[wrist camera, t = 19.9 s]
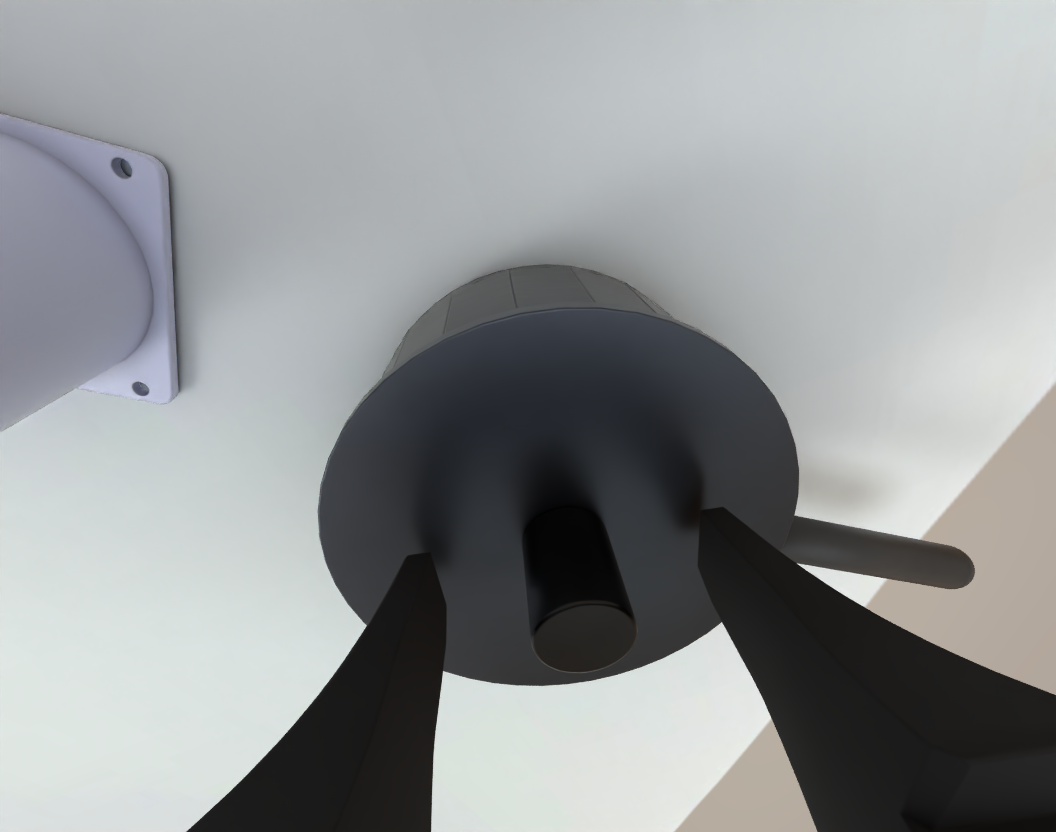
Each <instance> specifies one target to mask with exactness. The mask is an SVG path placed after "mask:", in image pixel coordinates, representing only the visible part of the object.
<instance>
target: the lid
mask: <svg viewBox="0 0 1056 832" xmlns="http://www.w3.org/2000/svg"><path fill="white" fill-rule="evenodd" d="M798 486H799V467H798V460H797V453H796V446H795V442H794V439H793V436H792V433H791V430H790V427H789V424H788V421H787V418H786V417H785V415H784V413H783V411H782V409H781V407H780V406H779V404H778V402H777V400H776V398H775V396H774V395H773V394H772V392H771V391H770V390H769V389H768V387H767V386H766V385H765V384H764V382H763V381H762V380H761V379H760V377H759V376H758V375H757V374H756V373H755V372H754V371H753V370H752V369H751V368H750V367H749V366H747V365H746V364H745V363H744V362H743V361H742V360H741V359H740V358H738V357H737V356H736V355H735V354H734V353H733V352H732V351H730V350H729V349H728V348H727V347H725V346H724V345H722V344H721V343H719V342H717V341H716V340H714V339H713V338H711V337H710V336H708V335H706V334H705V333H703V332H702V331H700V330H698V329H696V328H694V327H691V326H689V325H687V324H685V323H682V322H680V321H678V320H675V319H673V318H671V317H668V316H665V315H662V314H658V313H654V312H651V311H647V310H643V309H640V308H636V307H631V306H623V305H616V304H608V303H600V302H556V303H549V304H541V305H534V306H526V307H519V308H516V309H512V310H508V311H504V312H501V313H497V314H493V315H490V316H486V317H482V318H480V319H477V320H475V321H473V322H470V323H468V324H465V325H463V326H460V327H458V328H456V329H453V330H451V331H448V332H446V333H445V334H443V335H441V336H439V337H438V338H436V339H434V340H432V341H431V342H429V343H427V344H426V345H424V346H422V347H420V348H419V349H417V350H415V351H414V352H413V353H411V354H410V355H409V356H407V357H406V358H405V359H404V360H402V361H401V362H400V363H399V364H397V365H396V366H395V367H393V368H392V369H391V370H390V371H388V372H387V373H386V374H385V375H384V376H383V377H382V378H381V379H380V380H379V381H378V382H377V384H376V385H375V386H374V387H373V388H372V389H371V390H370V391H369V392H368V393H367V394H366V395H365V396H364V397H363V399H362V400H361V402H360V403H359V404H358V406H357V407H356V409H355V410H354V412H353V413H352V414H351V416H350V417H349V419H348V420H347V422H346V423H345V425H344V427H343V429H342V431H341V433H340V435H339V437H338V439H337V441H336V443H335V446H334V448H333V450H332V452H331V454H330V456H329V458H328V462H327V465H326V468H325V472H324V475H323V479H322V482H321V487H320V496H319V505H318V522H319V537H320V541H321V545H322V549H323V553H324V557H325V562H326V564H327V566H328V569H329V571H330V573H331V576H332V578H333V580H334V582H335V585H336V586H337V588H338V589H339V591H340V592H341V594H342V596H343V597H344V599H345V600H346V602H347V603H348V605H349V606H350V607H351V608H352V609H353V611H354V612H355V613H356V614H357V615H358V616H359V617H360V619H361V620H362V621H363V622H364V623H365V624H366V625H368V623H369V622H370V620H371V618H372V616H373V615H374V613H375V611H376V610H377V608H378V606H379V605H380V603H381V601H382V600H383V598H384V596H385V594H386V593H387V591H388V589H389V587H390V585H391V583H392V582H393V580H394V578H395V576H396V574H397V572H398V570H399V568H400V567H401V565H402V563H403V561H404V559H405V558H406V557H407V555H413V554H419V553H426V552H431V556H432V559H433V562H434V565H435V569H436V572H437V575H438V578H439V582H440V585H441V588H442V591H443V595H444V598H445V601H446V604H447V633H446V650H445V659H444V667H443V671H445V672H449V673H452V674H455V675H459V676H462V677H466V678H470V679H475V680H480V681H486V682H491V683H499V684H509V685H526V686H547V685H562V684H572V683H579V682H585V681H592V680H596V679H601V678H605V677H610V676H614V675H618V674H621V673H624V672H627V671H631V670H634V669H637V668H640V667H643V666H645V665H647V664H650V663H652V662H655V661H657V660H660V659H662V658H664V657H666V656H668V655H670V654H672V653H674V652H676V651H678V650H680V649H682V648H684V647H686V646H688V645H689V644H691V643H692V642H694V641H696V640H697V639H699V638H700V637H702V636H704V635H705V634H707V633H708V632H709V631H711V630H712V629H713V628H715V627H716V626H717V625H719V624H720V623H721V622H722V621H721V619H720V617H719V615H718V613H717V611H716V610H715V608H714V606H713V604H712V602H711V599H710V597H709V594H708V592H707V590H706V587H705V585H704V582H703V579H702V577H701V574H700V572H699V569H698V566H697V565H698V546H699V528H700V510H705V509H711V508H718V507H724V508H726V509H727V510H728V511H729V512H731V513H732V514H733V515H734V516H736V517H737V518H738V519H740V520H741V521H742V522H743V523H744V524H746V525H747V526H748V527H749V528H751V529H752V530H753V531H755V532H756V533H757V534H758V535H760V536H761V537H762V538H763V539H765V540H766V541H767V542H769V543H770V544H771V545H772V546H774V547H775V548H776V549H778V550H779V551H781V549H782V548H783V546H784V544H785V542H786V539H787V536H788V533H789V530H790V528H791V525H792V522H793V519H794V514H795V509H796V504H797V499H798Z"/></svg>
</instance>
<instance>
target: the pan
mask: <svg viewBox="0 0 1056 832" xmlns="http://www.w3.org/2000/svg"><path fill="white" fill-rule="evenodd" d="M556 302H600V303H608V304H616V305H623V306H631V307H636V308H640V309H643V310H647V311H651V312H654V313H658V314H662V315H665V316H668V317H671V318H673V317H672V316H670V315H669V314H668V313H667V312H666V311H664V310H663V309H662V308H660V307H659V306H657V305H656V304H655V303H653V302H652V301H651V300H649V299H648V298H646V297H645V296H644V295H642V294H641V293H640V292H638V291H637V290H636V289H634V288H632V287H631V286H629V285H628V284H627V283H623V282H622V281H619V280H617V279H615V278H612V277H609V276H607V275H604V274H601V273H598V272H595V271H592V270H587V269H582V268H577V267H572V266H560V265H535V266H522V267H517V268H512V269H507V270H502V271H498V272H495V273H492V274H490V275H487V276H484V277H481V278H478V279H476V280H474V281H472V282H470V283H468V284H466V285H464V286H462V287H460V288H458V289H456V290H454V291H453V292H451V293H450V294H448V295H447V296H446V297H444V298H443V299H441V300H440V301H438V302H437V303H435V304H434V305H433V306H432V307H431V308H430V309H429V310H428V311H427V312H426V313H425V314H424V315H423V316H421V317H420V318H419V319H418V321H417V322H416V323H415V324H414V325H413V326H412V327H411V328H410V329H409V330H408V332H407V333H406V335H405V337H404V338H403V340H402V342H401V344H400V345H399V347H398V349H397V350H396V352H395V354H394V356H393V358H392V359H391V361H390V363H389V365H388V366H387V368H386V370H385V372H384V374H383V376H384V375H385V374H386V373H387V372H388V371H390V370H391V369H392V368H393V367H395V366H396V365H397V364H399V363H400V362H401V361H402V360H404V359H405V358H406V357H407V356H409V355H410V354H411V353H413V352H414V351H415V350H417V349H419V348H420V347H422V346H424V345H426V344H427V343H429V342H431V341H432V340H434V339H436V338H438V337H439V336H441V335H443V334H445V333H446V332H448V331H451V330H453V329H456V328H458V327H460V326H463V325H465V324H468V323H470V322H473V321H475V320H477V319H480V318H482V317H486V316H490V315H493V314H497V313H501V312H504V311H508V310H512V309H516V308H519V307H526V306H534V305H541V304H549V303H556ZM673 319H674V318H673ZM383 376H382V377H383Z"/></svg>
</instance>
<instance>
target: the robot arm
mask: <svg viewBox="0 0 1056 832" xmlns="http://www.w3.org/2000/svg"><path fill="white" fill-rule="evenodd" d="M122 159H124V160H126V161H127V162H128V163H129V164H130V166H131V169H132V175H131V177H129V176H127V175H126V174H125V173H124V172H123V171H122V169H121V166H120V163H121V160H122ZM139 382H141V383H144V384H145V385H146V386H147V387H148V388H149V391H147V390H145V389H143V388H142V387H141V386H140V384H139ZM75 388H77V389H82V390H87V391H92V392H98V393H103V394H108V395H114V396H119V397H124V398H130V399H135V400H140V401H145V402H151V403H156V404H166V403H169V402H171V401H172V400H173V399H174V398H175V397H176V396H177V395H178V374H177V353H176V332H175V311H174V290H173V269H172V248H171V227H170V206H169V185H168V175H167V171H166V169H165V168H164V166H163V165H162V163H161V162H160V161H158V160H157V159H156V158H155V157H153V156H151V155H149V154H145V153H142V152H138V151H135V150H131V149H127V148H124V147H120V146H117V145H113V144H110V143H106V142H102V141H99V140H95V139H92V138H88V137H84V136H81V135H77V134H74V133H70V132H66V131H63V130H59V129H56V128H52V127H48V126H45V125H41V124H38V123H34V122H30V121H27V120H23V119H20V118H16V117H12V116H9V115H5V114H2V113H0V432H2V431H4V430H5V429H7V428H9V427H10V426H12V425H14V424H16V423H17V422H19V421H21V420H22V419H24V418H26V417H28V416H29V415H31V414H33V413H34V412H36V411H38V410H39V409H41V408H43V407H45V406H46V405H48V404H50V403H51V402H53V401H55V400H57V399H58V398H60V397H62V396H63V395H65V394H67V393H69V392H70V391H72V390H74V389H75ZM697 566H698V569H699V572H700V574H701V577H702V579H703V582H704V585H705V587H706V590H707V592H708V594H709V597H710V599H711V602H712V604H713V606H714V608H715V610H716V611H717V613H718V615H719V617H720V619H721V621H722V623H723V625H724V626H725V628H726V630H727V632H728V634H729V636H730V637H731V639H732V641H733V643H734V645H735V647H736V648H737V650H738V652H739V654H740V656H741V658H742V660H743V661H744V663H745V665H746V667H747V669H748V671H749V672H750V674H751V676H752V678H753V680H754V682H755V684H756V686H757V688H758V690H759V692H760V694H761V696H762V698H763V700H764V702H765V704H766V706H767V709H768V711H769V713H770V716H771V718H772V720H773V722H774V725H775V727H776V730H777V732H778V734H779V737H780V739H781V741H782V743H783V746H784V748H785V751H786V753H787V756H788V758H789V761H790V763H791V766H792V768H793V770H794V773H795V775H796V778H797V780H798V782H799V785H800V788H801V790H802V793H803V795H804V798H805V800H806V803H807V806H808V808H809V811H810V813H811V816H812V819H813V821H814V824H815V826H816V829H817V831H818V832H1056V695H1054V694H1051V693H1049V692H1046V691H1043V690H1041V689H1038V688H1036V687H1033V686H1031V685H1028V684H1026V683H1023V682H1020V681H1018V680H1015V679H1013V678H1010V677H1008V676H1005V675H1003V674H1000V673H997V672H995V671H992V670H990V669H988V668H986V667H983V666H981V665H979V664H977V663H974V662H972V661H970V660H968V659H965V658H963V657H960V656H958V655H956V654H954V653H952V652H950V651H947V650H945V649H943V648H941V647H939V646H937V645H935V644H933V643H930V642H928V641H926V640H924V639H922V638H921V637H918V636H917V635H914V634H913V633H911V632H909V631H907V630H905V629H903V628H901V627H899V626H897V625H895V624H893V623H891V622H889V621H888V620H885V619H884V618H882V617H880V616H878V615H877V614H875V613H873V612H871V611H870V610H868V609H866V608H865V607H863V606H861V605H860V604H858V603H856V602H854V601H853V600H851V599H849V598H848V597H846V596H844V595H843V594H841V593H840V592H838V591H836V590H835V589H833V588H832V587H830V586H829V585H827V584H826V583H824V582H823V581H821V580H820V579H818V578H817V577H815V576H814V575H812V574H811V573H809V572H808V571H806V570H805V569H804V568H802V567H801V566H799V565H798V564H797V563H795V562H794V561H792V560H791V559H790V558H788V557H787V556H786V555H784V554H783V553H782V552H780V551H779V550H778V549H776V548H775V547H774V546H772V545H771V544H770V543H769V542H767V541H766V540H765V539H763V538H762V537H761V536H760V535H758V534H757V533H756V532H755V531H753V530H752V529H751V528H749V527H748V526H747V525H746V524H744V523H743V522H742V521H741V520H740V519H738V518H737V517H736V516H734V515H733V514H732V513H731V512H729V511H728V510H727V509H726V508H724V507H718V508H711V509H705V510H700V528H699V546H698V565H697ZM446 633H447V604H446V601H445V598H444V595H443V591H442V588H441V585H440V582H439V578H438V575H437V572H436V569H435V565H434V562H433V559H432V556H431V552H426V553H419V554H413V555H407V557H406V558H405V559H404V561H403V563H402V565H401V567H400V568H399V570H398V572H397V574H396V576H395V578H394V580H393V582H392V583H391V585H390V587H389V589H388V591H387V593H386V594H385V596H384V598H383V600H382V601H381V603H380V605H379V606H378V608H377V610H376V611H375V613H374V615H373V616H372V618H371V620H370V622H369V623H368V625H367V626H366V628H365V630H364V631H363V633H362V634H361V636H360V637H359V639H358V640H357V642H356V643H355V645H354V646H353V648H352V649H351V651H350V652H349V654H348V655H347V657H346V658H345V660H344V661H343V663H342V664H341V666H340V667H339V668H338V670H337V671H336V672H335V674H334V675H333V677H332V678H331V679H330V681H329V682H328V683H327V685H326V686H325V687H324V688H323V690H322V691H321V692H320V694H319V695H318V696H317V697H316V699H315V700H314V701H313V702H312V704H311V705H310V706H309V707H308V708H307V710H306V711H305V712H304V713H303V714H302V716H301V717H300V718H299V719H298V720H297V722H296V723H295V724H294V725H293V726H292V727H291V728H290V730H289V731H288V732H287V733H286V734H285V735H284V736H283V738H282V739H281V740H280V741H279V742H278V743H277V744H276V745H275V746H274V747H273V748H272V749H271V750H270V751H269V752H268V754H267V755H266V756H265V757H264V758H263V759H262V760H261V761H260V762H259V763H258V764H257V765H256V766H255V767H254V768H253V769H252V770H251V771H250V772H249V773H248V774H247V775H246V776H245V777H244V778H243V779H242V780H241V781H240V782H239V783H238V784H237V785H236V786H235V787H234V788H233V789H232V790H231V791H230V792H229V793H228V794H227V795H226V796H225V797H224V798H223V799H222V800H221V801H219V802H218V803H217V804H216V805H215V806H214V807H213V808H212V809H211V810H210V811H209V812H207V813H206V814H205V815H204V816H203V817H202V818H201V819H200V820H199V821H198V822H197V823H196V824H194V825H193V826H192V827H191V828H190V829H189V830H188V831H187V832H431V811H432V779H433V752H434V741H435V730H436V723H437V715H438V707H439V699H440V691H441V683H442V675H443V667H444V659H445V650H446Z"/></svg>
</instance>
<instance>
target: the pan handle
mask: <svg viewBox="0 0 1056 832" xmlns="http://www.w3.org/2000/svg"><path fill="white" fill-rule="evenodd" d="M780 552H782V553H783V554H784V555H786V556H787V557H788V558H790V559H791V560H792V561H794V562H795V563H799V564H805V565H811V566H816V567H822V568H828V569H834V570H840V571H846V572H851V573H857V574H863V575H869V576H875V577H881V578H887V579H892V580H898V581H904V582H910V583H916V584H922V585H928V586H934V587H939V588H945V589H958V588H962V587H964V586H966V585H968V584H969V583H970V582H971V581H972V579H973V577H974V573H975V568H974V565H973V562H972V561H971V559H970V558H969V557H968V556H967V555H966V554H965V553H964V552H962V551H961V550H959V549H957V548H955V547H952V546H948V545H943V544H938V543H933V542H928V541H923V540H918V539H912V538H907V537H902V536H897V535H892V534H887V533H881V532H876V531H871V530H866V529H861V528H855V527H850V526H845V525H840V524H835V523H830V522H824V521H819V520H814V519H809V518H804V517H798V516H794V519H793V522H792V525H791V528H790V530H789V533H788V536H787V539H786V542H785V544H784V546H783V548H782V549H781V551H780Z"/></svg>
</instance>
